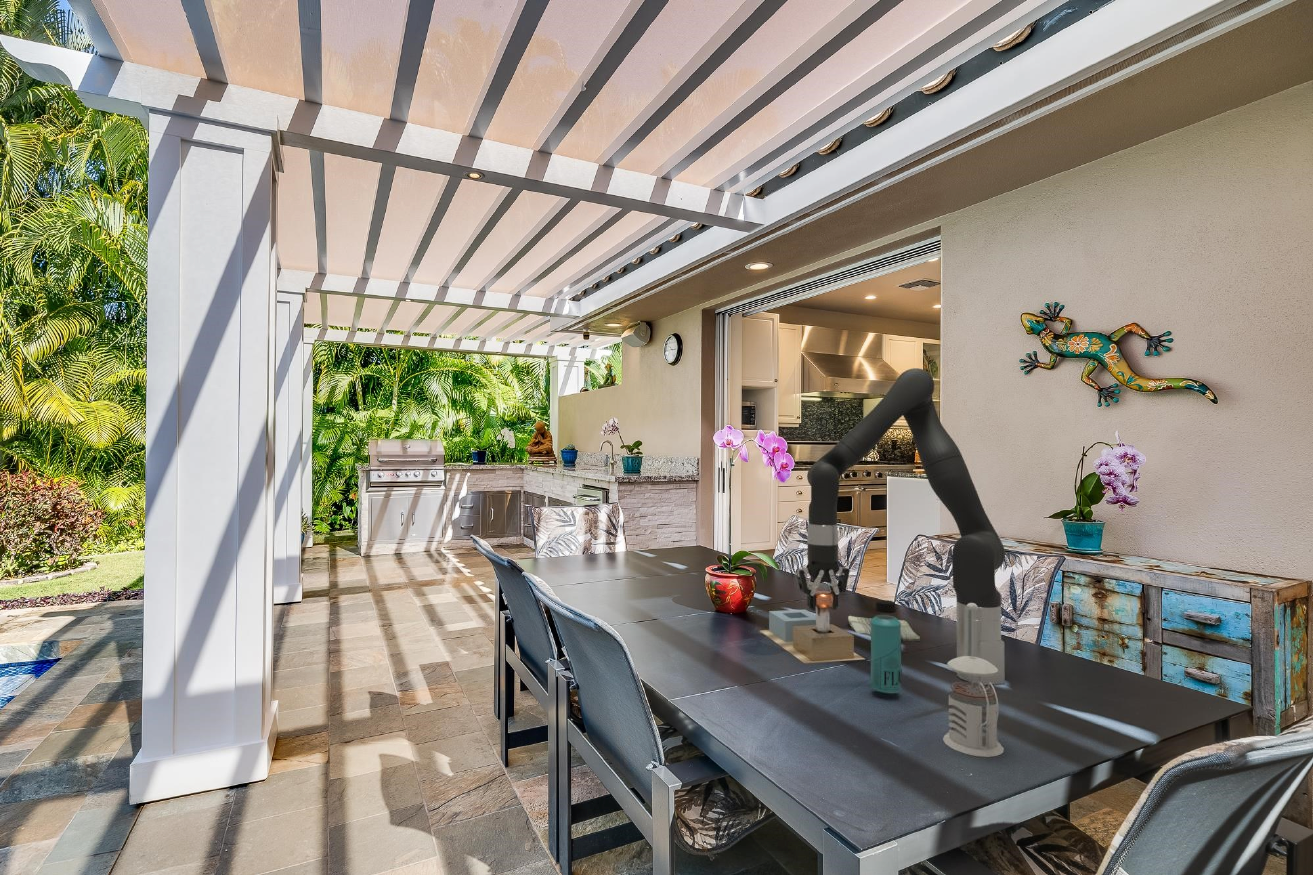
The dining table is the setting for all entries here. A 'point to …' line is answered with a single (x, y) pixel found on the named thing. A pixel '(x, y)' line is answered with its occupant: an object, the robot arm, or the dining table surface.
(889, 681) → the beverage bottle
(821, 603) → the steel peg
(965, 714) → the french press
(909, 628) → the dish towel
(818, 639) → the tan holed block
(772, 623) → the socket block
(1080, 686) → the dining table surface
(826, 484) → the robot arm
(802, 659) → the oak board
